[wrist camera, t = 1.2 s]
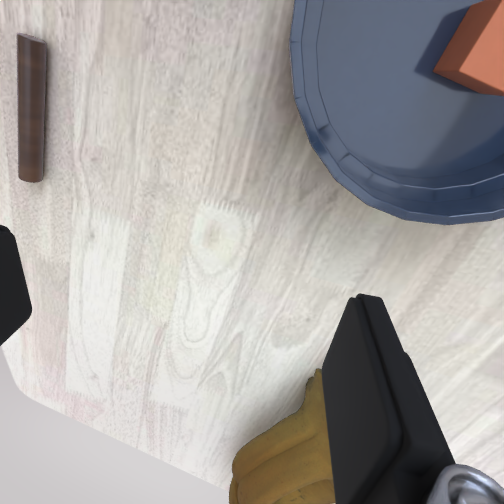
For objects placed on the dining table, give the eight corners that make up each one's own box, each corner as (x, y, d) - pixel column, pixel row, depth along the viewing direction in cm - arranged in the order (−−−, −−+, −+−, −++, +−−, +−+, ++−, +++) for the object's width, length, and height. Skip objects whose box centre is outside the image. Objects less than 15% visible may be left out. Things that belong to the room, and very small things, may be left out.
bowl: (247, 135, 23) (236, 152, 18) (400, -300, 14) (460, -500, 9) (476, 230, 25) (521, 267, 20) (751, -98, 15) (958, -174, 11)
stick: (16, 30, 21) (16, 34, 20) (45, 40, 22) (47, 44, 21) (18, 172, 26) (18, 181, 25) (42, 175, 27) (43, 183, 26)
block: (431, 71, 20) (458, 71, 17) (470, 4, 18) (507, -10, 15) (480, 94, 20) (515, 97, 17) (523, 30, 18) (571, 21, 15)
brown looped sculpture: (465, 514, 32) (295, 595, 37) (390, 393, 42) (265, 471, 47) (393, 502, 21) (170, 618, 26) (316, 344, 31) (166, 451, 37)
